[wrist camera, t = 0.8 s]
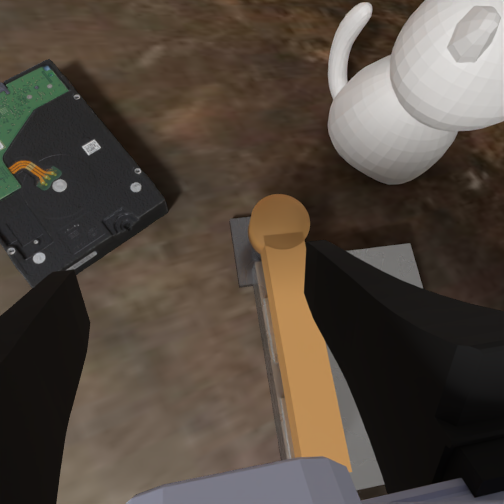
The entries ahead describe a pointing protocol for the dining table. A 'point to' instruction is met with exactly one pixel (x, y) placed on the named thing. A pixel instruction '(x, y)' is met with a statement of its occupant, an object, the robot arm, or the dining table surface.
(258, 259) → the grey flat piece
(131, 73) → the dining table surface
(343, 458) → the swing arm
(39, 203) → the disk drive
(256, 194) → the dining table surface
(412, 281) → the chassis
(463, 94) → the cat figurine
